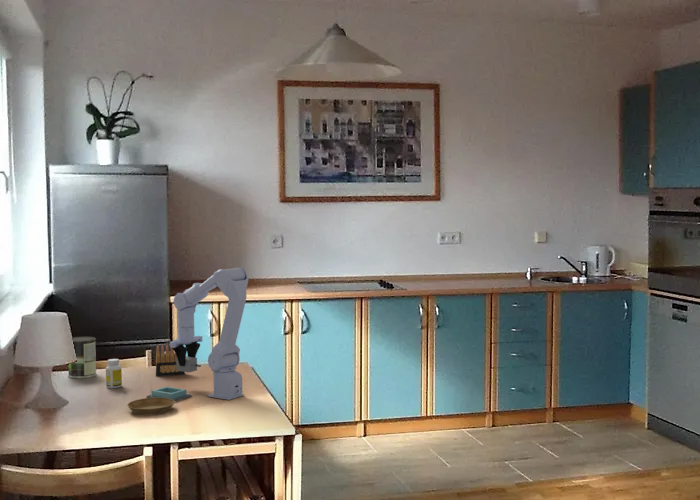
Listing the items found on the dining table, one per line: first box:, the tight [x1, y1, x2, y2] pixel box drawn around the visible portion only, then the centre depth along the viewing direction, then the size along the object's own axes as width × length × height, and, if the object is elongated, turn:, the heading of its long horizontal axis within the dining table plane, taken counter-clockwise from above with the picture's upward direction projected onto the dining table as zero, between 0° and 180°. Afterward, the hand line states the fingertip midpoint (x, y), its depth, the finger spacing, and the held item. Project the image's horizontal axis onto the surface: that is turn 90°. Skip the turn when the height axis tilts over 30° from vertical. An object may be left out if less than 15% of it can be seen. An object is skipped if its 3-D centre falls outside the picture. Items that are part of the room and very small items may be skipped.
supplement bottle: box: [105, 358, 123, 389], centre depth 305 cm, size 5×5×10 cm
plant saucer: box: [127, 397, 176, 416], centre depth 273 cm, size 15×15×3 cm
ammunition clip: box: [155, 343, 186, 377], centre depth 325 cm, size 11×2×12 cm, turn 107°
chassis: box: [146, 386, 193, 402], centre depth 290 cm, size 12×9×2 cm
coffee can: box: [67, 336, 97, 379], centre depth 324 cm, size 10×10×14 cm
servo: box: [176, 355, 202, 373], centre depth 302 cm, size 11×4×5 cm, turn 57°
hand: (186, 364), depth 302 cm, fingers closed on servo, 4 cm apart
